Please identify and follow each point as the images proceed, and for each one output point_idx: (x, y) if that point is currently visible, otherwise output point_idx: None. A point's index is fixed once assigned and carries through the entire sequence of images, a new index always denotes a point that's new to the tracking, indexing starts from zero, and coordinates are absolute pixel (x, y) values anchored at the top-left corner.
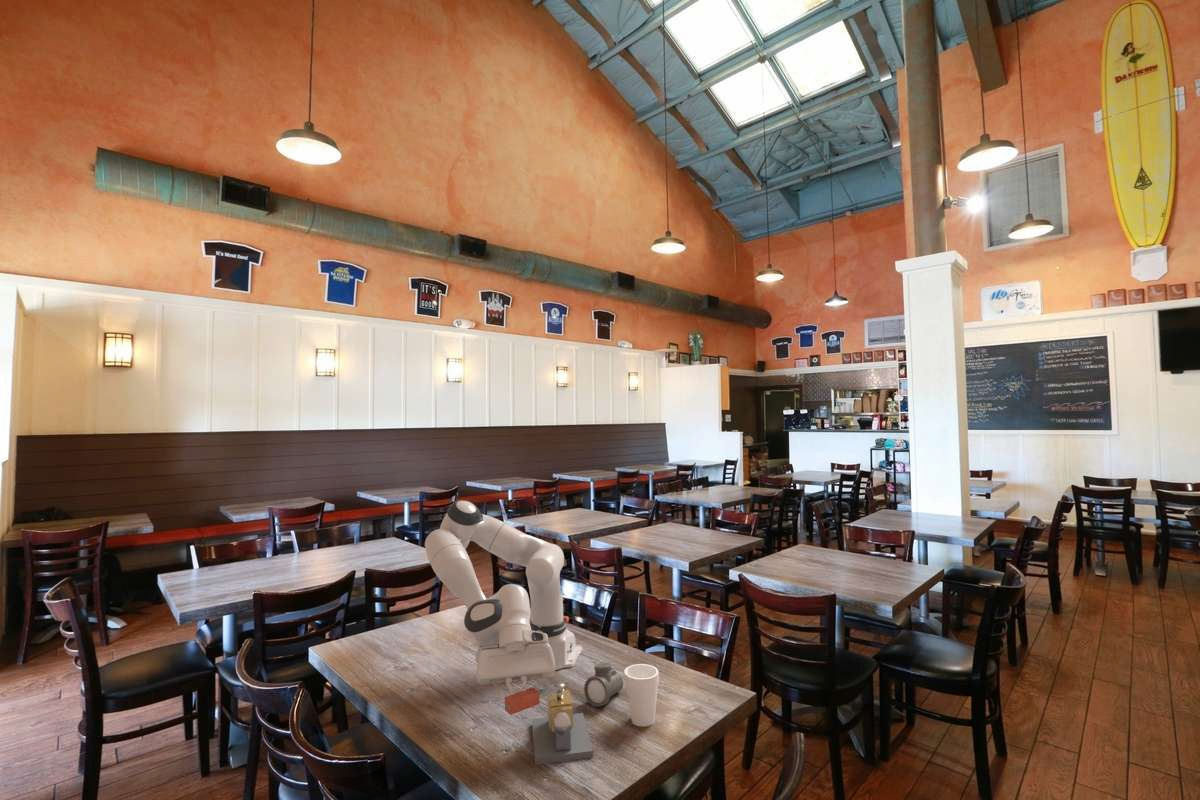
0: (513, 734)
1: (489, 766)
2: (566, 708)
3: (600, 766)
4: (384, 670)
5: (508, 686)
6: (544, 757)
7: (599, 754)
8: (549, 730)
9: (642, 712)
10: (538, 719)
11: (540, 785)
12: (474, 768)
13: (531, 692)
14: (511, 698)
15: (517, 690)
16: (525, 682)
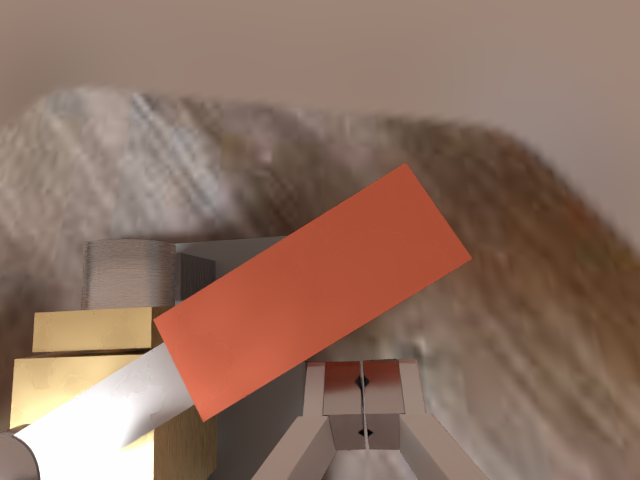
0: (395, 473)
1: (473, 254)
2: (63, 316)
3: (89, 200)
4: None
5: (456, 442)
6: (260, 237)
7: (80, 265)
8: (232, 428)
9: None
10: None
11: (283, 128)
12: (533, 251)
13: (219, 312)
14: (401, 228)
15: (354, 395)
16: (262, 464)
